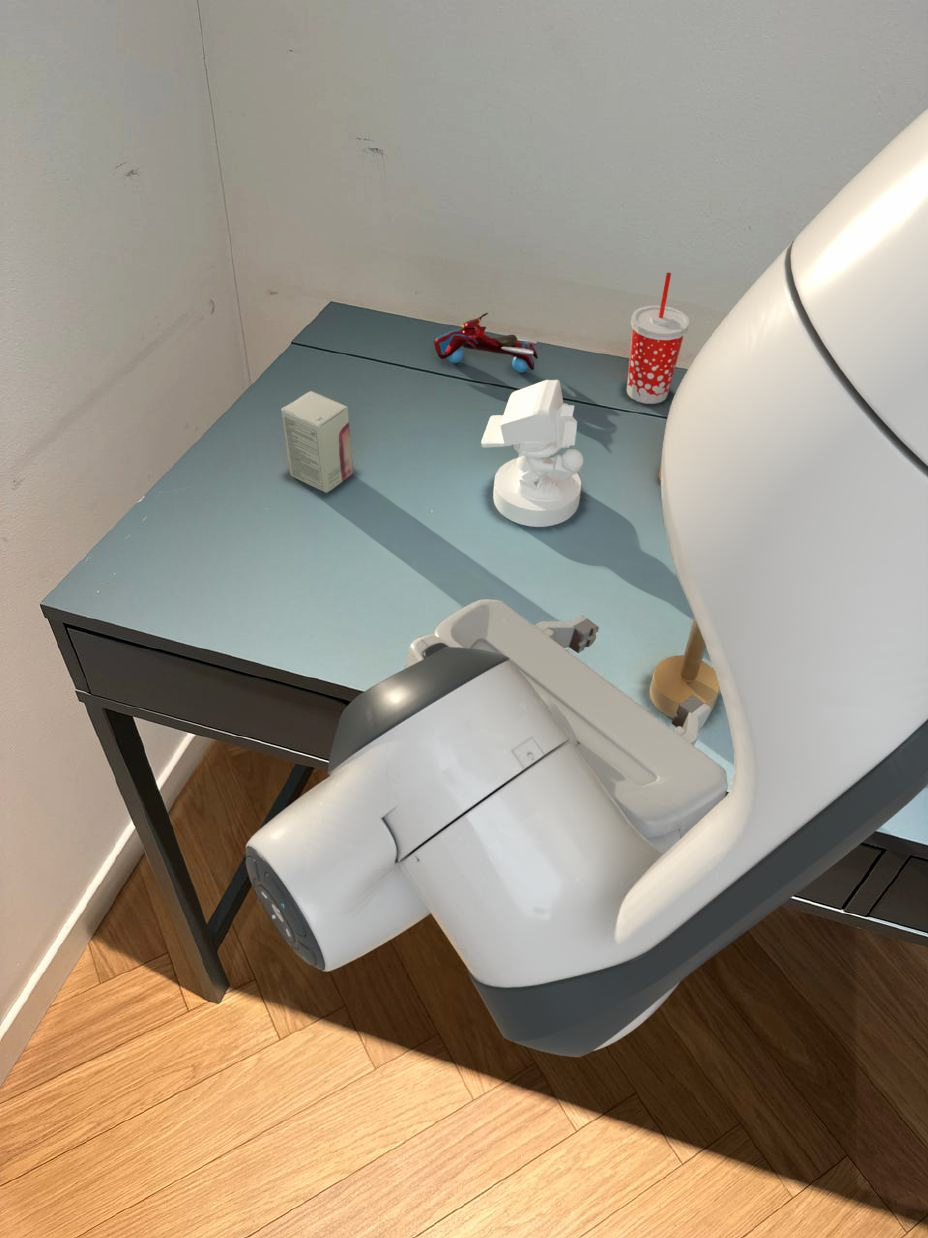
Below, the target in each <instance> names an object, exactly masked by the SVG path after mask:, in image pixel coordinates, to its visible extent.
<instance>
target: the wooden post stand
mask: <svg viewBox="0 0 928 1238" xmlns="http://www.w3.org/2000/svg"><path fill="white" fill-rule="evenodd" d="M706 649H707V647H706V644H705V642H704V639H703V637H702V634H701V632H700V629H699V627H698V624H697V622H696V619H695V617H694V616H693V621H692V624H691V628H690V632H689V635H688V639H687V642H686V646H685V650H684V653H683V654H682V655H679V654H678V655H672V656H668V657H666V658H663V659H662V660H661V661H659V662H658V663H657V665H656V666H655V667H654V669H653V674H652V678H651V681H650V685H649V698H650V700H651V702H652V704H653V705H654V707H655V708H656V709H657V710H658V711H659V712H660V713H661V714H664V716H667V717H668V718H671V719H673V718H674V716H675V715H677V712H676V711H677V709H678V707H679V704H680V703H682V702H683V701H684V700H688V699H689V697H690V696H691V695H694V696H695V697H697V698H698V699H699V700H701V701H702V702H704V703H705V704H707V705H708V706H710V707H711V708H712V709H711V712H712V711H713V710H714V708H715V704H716V701H717V698H718V695H719V692H720V687H719V683H718V680H717V676H716V673H715V670H714V667H713V666H711V665H710V664H708V663H707V662H706V661H704V660H703V658H704V655H705V651H706Z"/></svg>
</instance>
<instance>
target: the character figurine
mask: <svg viewBox="0 0 928 1238" xmlns="http://www.w3.org/2000/svg"><path fill="white" fill-rule="evenodd" d="M574 411H575V404H568V403H566V402H564V399H563V393H562V387H561V382H560V380H559V379H545V380H542V381H540V382H537V383H534V384H531V385H529V386H525V387H522V388H521V389H517V390H514V391H513V392H512V393H511V394H510V395H509V398H508V401H507V403H506V407H505V409H504V412H503V414H495V415H491V416H490V417H489V419H488V422H487V425H486V427H485V430H484V433H483V436H482V437H481V441H480V444H481V448H502V447H513V449H514V451H516V452H517V453H518V455H517V456H518V457H517V458H516V457H515V458H513V459H511V460H509V461H506V462H504V464H502V466H500V467H499V468H498V470H497V471H496V473H495V475H494V481H493V493H492V494H493V495H492V496H493V503H494V506H495V508H496V509H497V511H498V512H499V514H501V515H502V516H503V517H505V518H506V519H507V520H509V521H511V522H513V523H516V524H519V525H523V526H527V527H534V528H545V527H551V526H552V527H553V526H555V525H558V524H562V523H563V522H566V521H567V520H569V519H570V518H571V517H573V516H574V514H575V513H576V512H577V511H578V508H579V505H580V500H581V499H580V498H581V491H582V480H581V478H580V476H579V474H578V473H579V472H580V471H581V469H582V467H583V465H584V456H583V455H582V453H581V451H580V450H578V449H575V448H570V447H571V446H575V444H576V437H577V427H578V421H577V420H576V418H575V417H574V416H573V415H574ZM561 449H567V450H565V451H564V453H563V454H562V455H561V454H556V453H558V452H559V451H560V450H561ZM555 454H556V455H555ZM551 456H553V457H551Z"/></svg>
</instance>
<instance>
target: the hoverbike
mask: <svg viewBox="0 0 928 1238" xmlns="http://www.w3.org/2000/svg"><path fill="white" fill-rule="evenodd" d="M487 315H489V312H485V313H483V314H482V315H480V316H479V317H477V318H474V319H473V318H472V319H470V320H467V321H465V322H463V323H462V325H461V328H455V329H452V330H450V331H448V332H445V333H443V334H440V335H438V336H436V337H435V338H434V340H433V345H434V348H435V352H436V354H437V356H438V358H439V359H441V360H445V359H446V360H447V362H450V363H451V364H457V363H460V362H461V361H462V360H463V358H464V355H465V354H464V349H466V350H467V349H468V350H473V351H481V352H488V353H492V354H500V355H507V356H512V357H513V358H512V361H511V366H512V369H513V370H514V371H515V372H517V373H518V374H523V373H525V372H527V371H528V370H531V371H533V370H534V369H535V361H534V359H533V357H534V358H535V360H538V358H539V357H538V353H537V351H536V349H535V347H534V346H537V345H538V340H537V339H533V338H528V337H522V336H516V335H515V334H508V335H503V336H497V337H490V336H489V335H488V334H486V333H485V331H486V329H487V326H482V322H481V320H482V318H484V317H485V316H487ZM463 348H464V349H463ZM532 356H533V357H532Z"/></svg>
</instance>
